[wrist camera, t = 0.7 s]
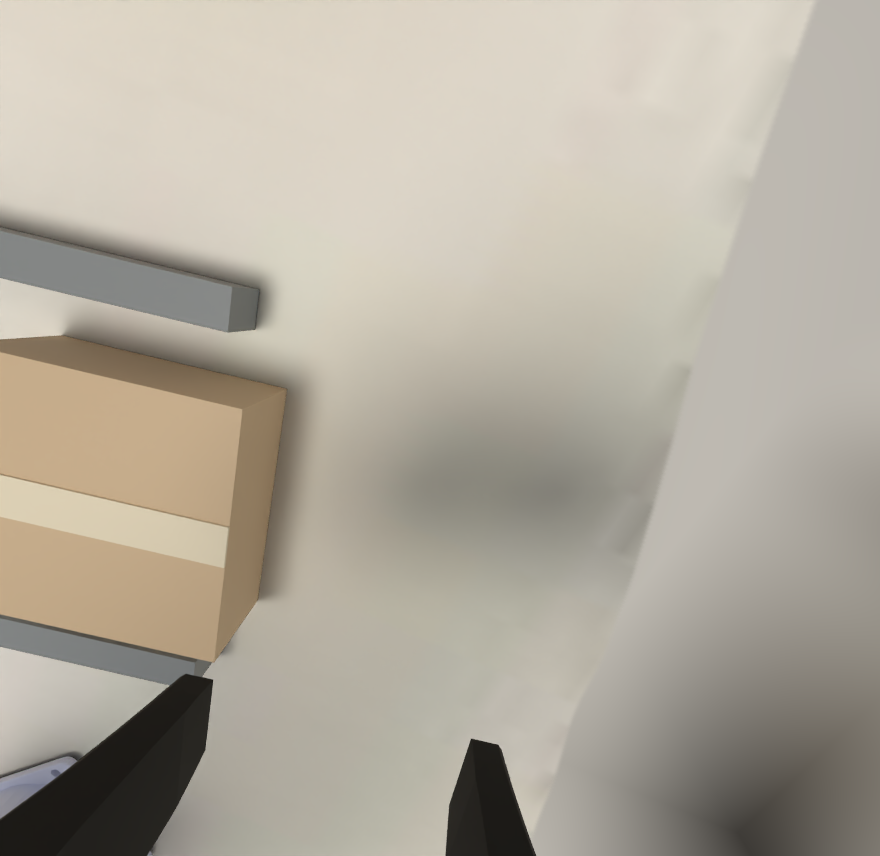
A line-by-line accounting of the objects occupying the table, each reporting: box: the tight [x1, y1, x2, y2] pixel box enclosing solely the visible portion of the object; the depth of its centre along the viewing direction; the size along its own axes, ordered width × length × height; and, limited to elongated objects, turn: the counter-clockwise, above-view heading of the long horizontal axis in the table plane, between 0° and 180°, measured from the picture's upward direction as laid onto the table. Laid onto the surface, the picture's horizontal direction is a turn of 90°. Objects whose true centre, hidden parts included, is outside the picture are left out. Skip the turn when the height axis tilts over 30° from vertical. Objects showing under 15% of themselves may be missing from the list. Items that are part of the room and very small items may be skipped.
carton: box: [0, 336, 287, 663], centre depth 17 cm, size 9×10×4 cm
